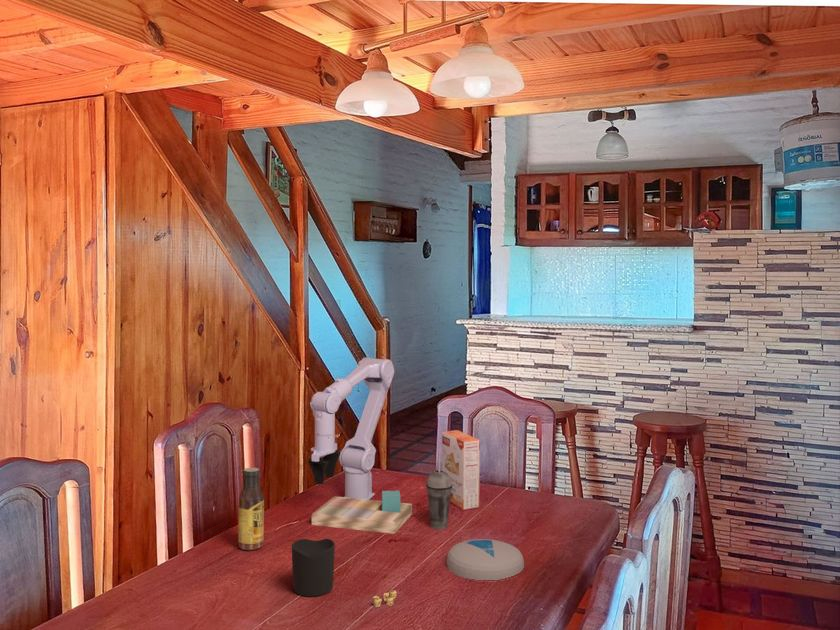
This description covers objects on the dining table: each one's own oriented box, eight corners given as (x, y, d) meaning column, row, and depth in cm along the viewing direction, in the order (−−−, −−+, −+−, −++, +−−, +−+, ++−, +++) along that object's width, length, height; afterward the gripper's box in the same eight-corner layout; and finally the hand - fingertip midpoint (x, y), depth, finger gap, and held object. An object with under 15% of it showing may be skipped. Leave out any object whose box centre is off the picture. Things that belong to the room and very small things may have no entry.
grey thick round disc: (461, 586, 165) (461, 564, 164) (437, 555, 183) (437, 535, 182) (536, 577, 170) (537, 556, 169) (506, 548, 188) (506, 529, 187)
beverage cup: (452, 522, 205) (453, 452, 204) (451, 532, 198) (452, 458, 197) (426, 521, 206) (427, 451, 205) (424, 530, 199) (425, 458, 197)
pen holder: (314, 576, 169) (314, 533, 168) (343, 587, 163) (343, 543, 162) (282, 589, 162) (282, 545, 161) (311, 602, 156) (311, 556, 155)
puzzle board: (311, 524, 203) (311, 514, 202) (334, 506, 218) (334, 496, 218) (394, 533, 196) (394, 522, 196) (411, 514, 212) (411, 503, 212)
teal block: (381, 511, 211) (382, 490, 211) (399, 511, 211) (399, 490, 211) (382, 517, 206) (382, 496, 206) (400, 517, 206) (400, 496, 206)
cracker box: (440, 497, 228) (441, 430, 226) (457, 495, 230) (458, 429, 229) (462, 511, 215) (462, 440, 214) (479, 508, 218) (480, 438, 216)
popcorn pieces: (396, 598, 159) (396, 589, 159) (396, 609, 154) (396, 600, 154) (372, 598, 159) (372, 590, 159) (372, 609, 154) (372, 600, 154)
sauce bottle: (257, 552, 182) (257, 474, 181) (234, 550, 184) (233, 472, 182) (268, 543, 189) (267, 467, 188) (245, 541, 190) (244, 465, 189)
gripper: (321, 427, 220) (321, 472, 221) (301, 438, 206) (301, 485, 207) (343, 429, 218) (343, 474, 219) (325, 439, 204) (324, 488, 205)
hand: (324, 480), depth 213 cm, fingers open, 7 cm apart
